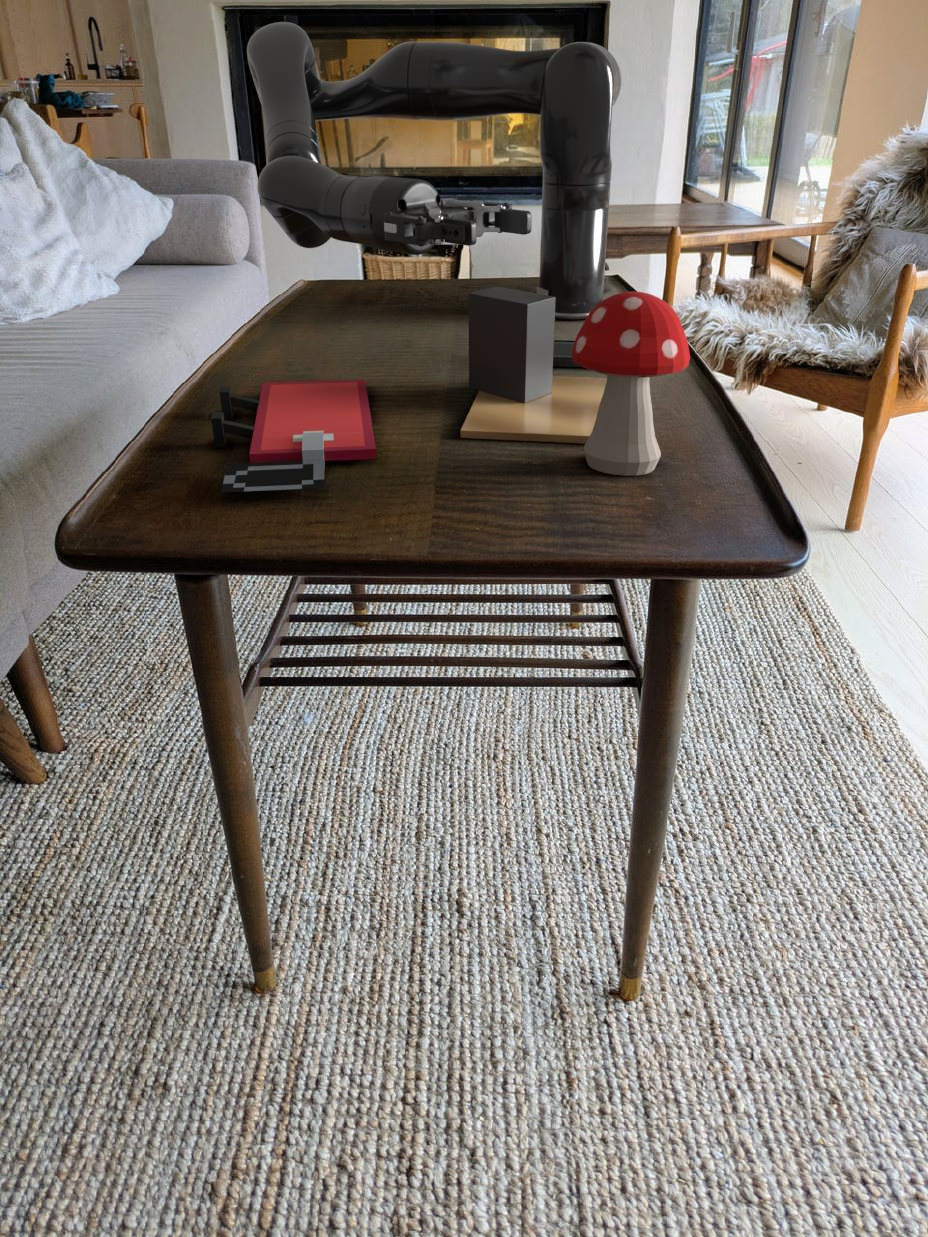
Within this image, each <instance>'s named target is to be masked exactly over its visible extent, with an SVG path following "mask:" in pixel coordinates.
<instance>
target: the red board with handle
mask: <svg viewBox="0 0 928 1237" xmlns="http://www.w3.org/2000/svg"><path fill="white" fill-rule="evenodd" d="M219 398H220V405H221V406H220V407H221V411H217V412H216V411H214V412H212V415H211V417H210V421H211V427H212V429H211V430H212V436H213V442H214V443H213V444H214V448H226V445H227V442H228V439H227V435H229V436H235V437H241V438H245V439H249V440H251V442H250V449H249V462H236V463H227V464H226V469H225V473H224V476H223V482H222V486H221V488H220V489H221V490H220V493H243V492H261V491H262V492H263V491H264V492H265V491H282V490H283V491H285V490H287V491H288V490H307V489H325V470H326V462H330V461H331V462H332V461H358V460H376V459H377V447H376V442H375V434H374V430H373V429H374V428H373V423H372V416H371V409H370V403H369V397H368V390H367V383H366V379H339V380H338V379H336V380H307V381H306V380H305V381H303V380H302V381H271V382H262V385H261V390H260V395H259V399H254V398H250V397H246V396H242V395H237V394H232V389H231V386H221V387H220V389H219ZM234 408H237V409H243V410H247V411H253V412H256V416H255V421H254V425H248V424H244V423H238V422H234V421H230V420H233V418H234V414H235V412H234Z"/></svg>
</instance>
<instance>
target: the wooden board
mask: <svg viewBox="0 0 928 1237" xmlns="http://www.w3.org/2000/svg"><path fill="white" fill-rule="evenodd" d="M606 381H607V377H592V376H591V377H590V376H561V375H552V393H551V394H549V395H546V396H543V397H540V398H538V399H535V400H532V401H530V402H527V403H522V402H518V401H515V400H511V399H507V398H504V397H500V396H497V395H493V394H489V393H486V392H482V391H478V392H477V394H476V396H475V399H474V400H473V402H472V405H471V407H470V409H469V412H468V414H467V415H466V418H465V419H464V422H463V424H462V426H461V428H460V429H459V430H460V431H459V432H460V438H461V439H478V440H498V441H500V440H501V441H519V442H521V441H522V442H541V443H544V442H545V443H561V444H562V443H563V444H584V445H585V444H586V442H587V440H588V438H589V437H590V435H591V433H592V430H593V427H594V424H595V421H596V417H597V413H598V409H599V405H600V402H601V399H602V396H603V393H604V390H605V386H606Z"/></svg>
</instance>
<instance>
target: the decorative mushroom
mask: <svg viewBox="0 0 928 1237" xmlns="http://www.w3.org/2000/svg"><path fill="white" fill-rule="evenodd" d="M574 341H575V343H574V346H573V350H572V360H573V361H574V362H575V363H576V364H577V365H580V366H582V367H581V368H584V369H587V370H589V371H591V372H594V373H597V374H602V375H605V376H606V378H607V381H606V386H605V390H604V393H603V396H602V399H601V402H600V405H599V409H598V413H597V417H596V421H595V424H594V427H593V430H592V433H591V435H590V437H589V438H588V440H587V442H586V444H584V446H583V453H584V456H585V460H586V463H587V465H588V467H589V468H591V469H592V470H595V471H597V472H601V473H604V474H610V475H615V476H642V475H646V474H650V473H652V472H653V471H654V470H656V467H657V464H658V463H659V461H660V458H661V457H662V453H661V449H660V447H659V446H660V445H659V443H658V441H657V438H656V434H655V427H654V415H653V404H652V398H651V386H650V378H654V377H655V378H657V377H662V376H667V375H672V374H675V373H679V372H681V371H684V370H686V369H687V368H688V367H689V365H690V360H691V355H690V348H689V341H688V338H687V335H686V333H685V330H684V328H683V324H682V322H681V319H680V317H679V315H678V313H677V312H676V311H675V309H674V308H673V307H672V306H671V305H670V304H669V303H668V302H666V301H665V300H663V299H662V298H660V297H658V296H656V295H653V294H651V293H648V292H644V291H643V292H642V291H634V290H633V291H623V292H619V293H616V294H612V295H610V296H609V297H607V298H604V299H603V301H602V302H600V303H599V304H597V305H596V306H595V307H594V308H593V309H592V310H591V312H590V313H589V315H588V316H587V318H586V319H584V322H583V323H582V326H581V327H580V328H579V331H578V333H577V334H576V338H575V340H574Z"/></svg>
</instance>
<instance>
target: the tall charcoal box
mask: <svg viewBox="0 0 928 1237" xmlns="http://www.w3.org/2000/svg"><path fill="white" fill-rule="evenodd" d="M467 297H468V298H467V300H468V303H467V304H468V306H467V307H468V308H467V309H468V311H467V312H468V388H469V389H471V390H476V391H478V392H479V391H482V392H486V393H489V394H493V395H497V396H500V397H504V398H507V399H511V400H515V401H518V402H522V403H527V402H530V401H532V400H535V399H538V398H540V397H543V396H546V395H549V394H551V393H552V376H553V369H554V368H553V367H554V366H553V348H554V340H555V322H556V321H555V320H556V318H555V300H556V297H553V296H548V295H542V294H537V292H531V291H527V290H526V291H524V290H520V289H514V288H508V287H503V286H498V285H496V286H492V287H487V288H484V289H480V290H476V291H472V292H468V296H467Z"/></svg>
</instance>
